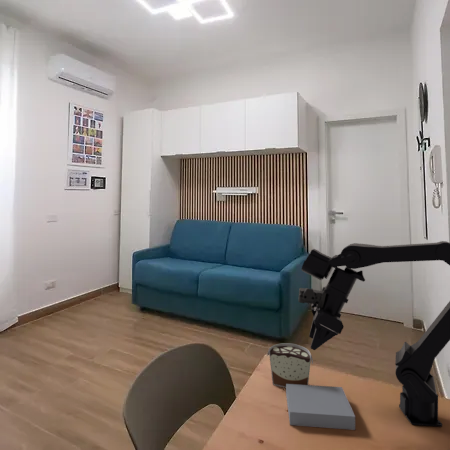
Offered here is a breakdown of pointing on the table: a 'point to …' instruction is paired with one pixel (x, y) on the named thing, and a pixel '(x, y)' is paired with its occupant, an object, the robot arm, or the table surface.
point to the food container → (289, 364)
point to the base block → (319, 407)
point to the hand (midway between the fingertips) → (311, 343)
